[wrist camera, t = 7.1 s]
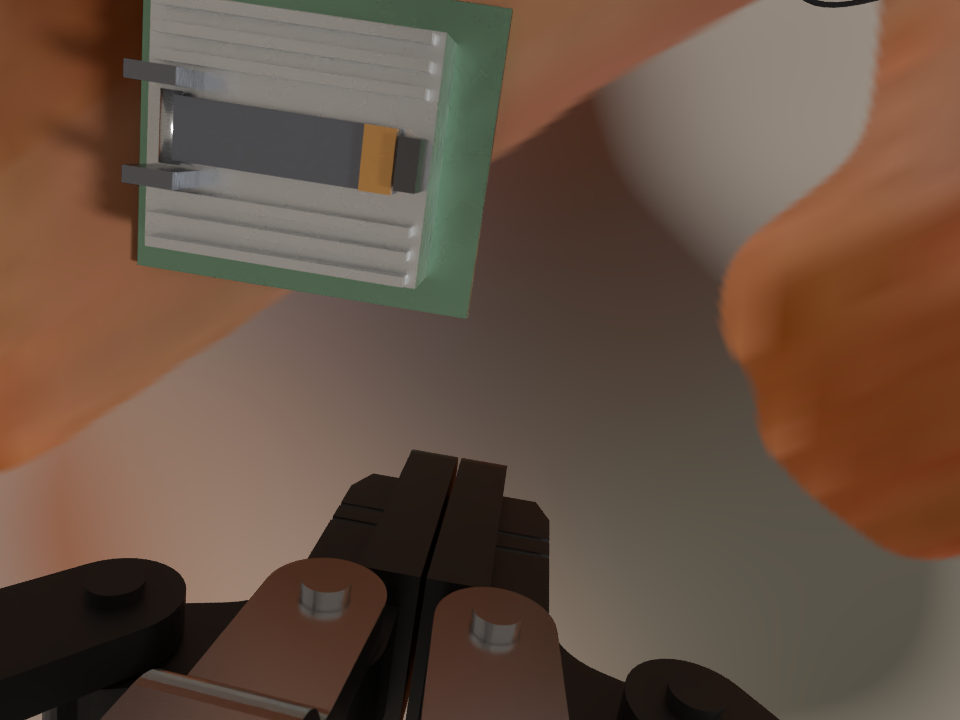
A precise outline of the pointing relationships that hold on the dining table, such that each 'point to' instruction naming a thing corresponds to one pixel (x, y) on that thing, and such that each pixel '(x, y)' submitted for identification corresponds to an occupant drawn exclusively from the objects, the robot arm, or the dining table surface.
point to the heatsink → (337, 95)
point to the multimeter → (838, 3)
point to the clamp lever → (276, 143)
